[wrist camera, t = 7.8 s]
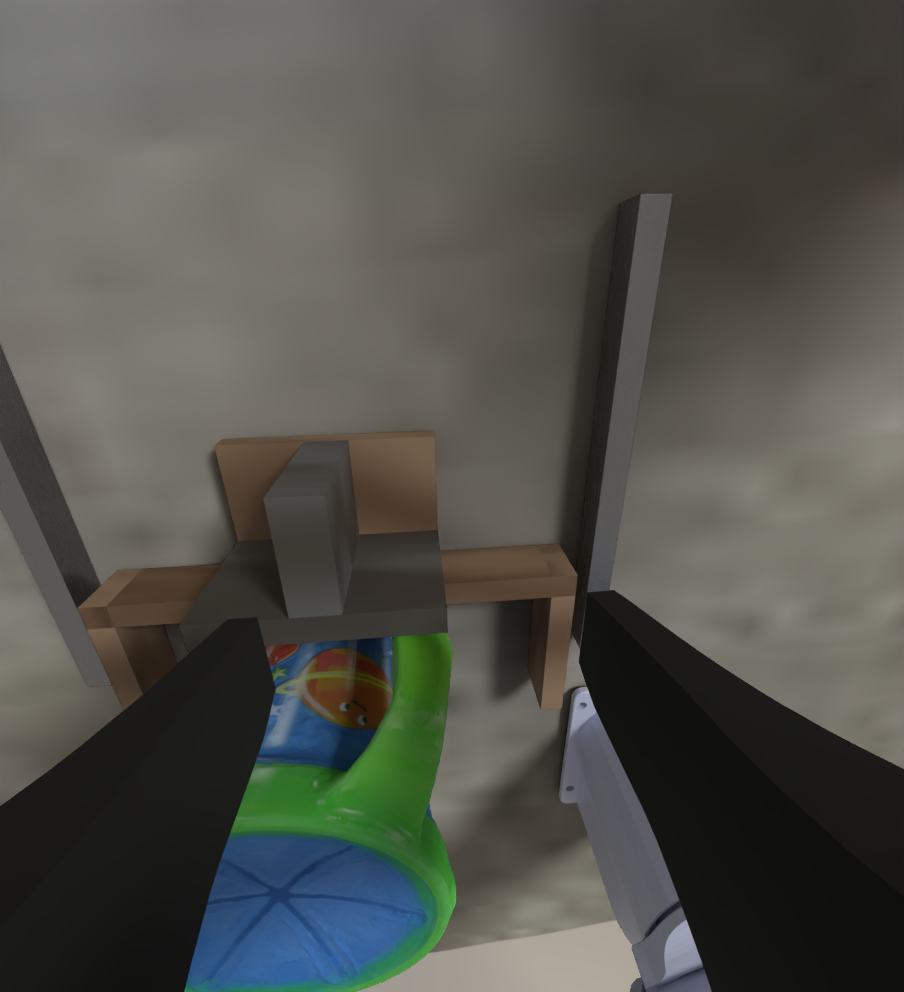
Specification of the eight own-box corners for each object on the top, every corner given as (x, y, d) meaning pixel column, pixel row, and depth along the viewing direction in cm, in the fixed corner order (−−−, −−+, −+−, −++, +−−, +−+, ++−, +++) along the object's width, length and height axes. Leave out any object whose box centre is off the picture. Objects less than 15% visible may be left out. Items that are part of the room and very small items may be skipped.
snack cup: (317, 786, 26) (265, 1064, 16) (144, 705, 22) (-49, 1003, 13) (514, 623, 22) (592, 862, 13) (345, 492, 18) (280, 693, 9)
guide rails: (588, 625, 22) (600, 646, 21) (108, 661, 21) (87, 686, 19) (648, 203, 15) (672, 193, 13) (-96, 204, 13) (-154, 194, 12)
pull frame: (546, 667, 23) (587, 777, 18) (167, 698, 22) (90, 827, 16) (569, 425, 18) (638, 479, 12) (68, 445, 16) (-94, 516, 11)
